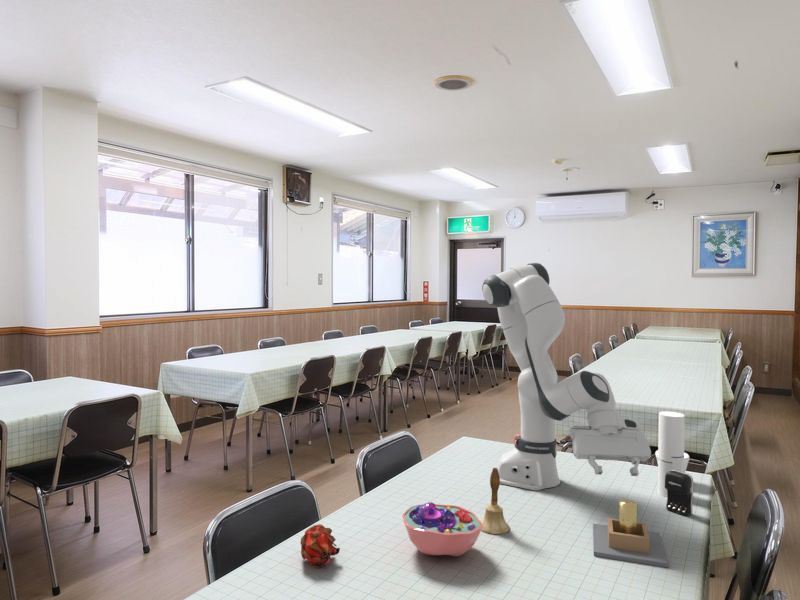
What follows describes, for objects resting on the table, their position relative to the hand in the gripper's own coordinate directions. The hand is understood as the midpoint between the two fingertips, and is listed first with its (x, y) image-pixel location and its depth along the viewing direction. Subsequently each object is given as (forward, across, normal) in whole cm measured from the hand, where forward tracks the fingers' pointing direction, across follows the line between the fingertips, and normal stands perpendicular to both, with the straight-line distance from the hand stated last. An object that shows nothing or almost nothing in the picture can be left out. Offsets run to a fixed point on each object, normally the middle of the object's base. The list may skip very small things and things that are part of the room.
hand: (617, 474), depth 139 cm
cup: (-15, +33, +35) cm, 51 cm away
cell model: (+20, -46, +4) cm, 51 cm away
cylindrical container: (-7, +27, +28) cm, 40 cm away
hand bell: (+11, -31, +13) cm, 36 cm away
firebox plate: (+16, 0, +5) cm, 17 cm away
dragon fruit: (+24, -76, +1) cm, 79 cm away
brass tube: (+16, 0, +4) cm, 16 cm away
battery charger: (+2, +23, +18) cm, 29 cm away
